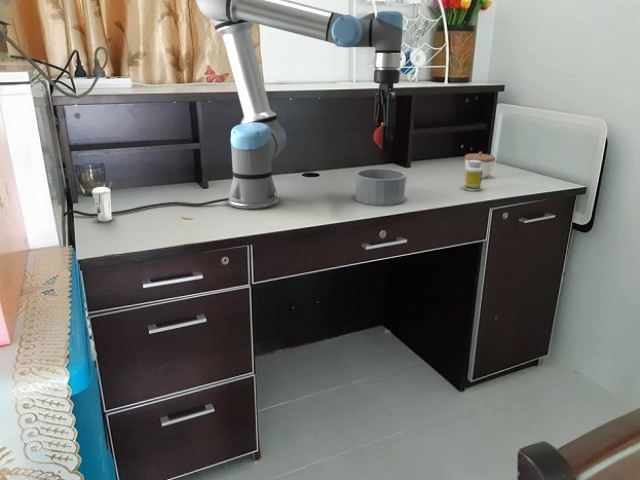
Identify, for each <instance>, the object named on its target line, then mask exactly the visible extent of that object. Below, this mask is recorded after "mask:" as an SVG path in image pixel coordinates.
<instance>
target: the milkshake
mask: <svg viewBox="0 0 640 480" xmlns="http://www.w3.org/2000/svg"><path fill="white" fill-rule="evenodd" d="M111 186H112V181H111V182H109V186H108V187H105V186H104V187H103V186H98V187H95V188H93V189H92V190H91V194H92V198H93V202H94V205H95V210H96V213H97V214H98V216H97V218H98V221H99V222H109V221H111V220H112V218H113V217H112V215H111V212H112V204H111Z"/></svg>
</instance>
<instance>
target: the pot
mask: <svg viewBox="0 0 640 480" xmlns="http://www.w3.org/2000/svg"><path fill="white" fill-rule="evenodd" d="M406 182H407V174H406V173H405V172H404V171H401V170H396V169H390V168H365V169H361V170H358V171H356V172H355V185H354V186H355V187H354V188H355V189H354V199H355V201H357V202H359V203H362V204H365V205H371V206H394V205H395V206H396V205H400V204H401V203H403V202H405V199H406V197H405V195H406Z"/></svg>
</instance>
